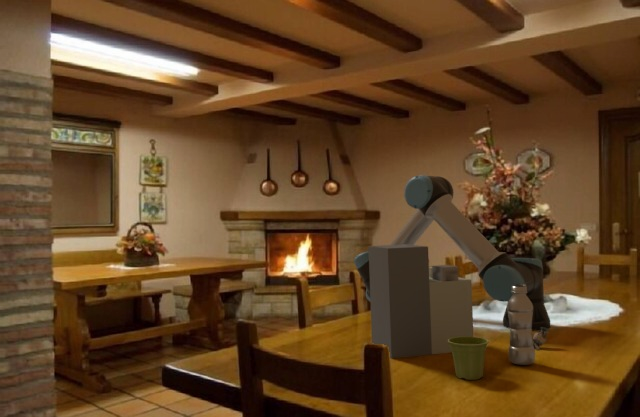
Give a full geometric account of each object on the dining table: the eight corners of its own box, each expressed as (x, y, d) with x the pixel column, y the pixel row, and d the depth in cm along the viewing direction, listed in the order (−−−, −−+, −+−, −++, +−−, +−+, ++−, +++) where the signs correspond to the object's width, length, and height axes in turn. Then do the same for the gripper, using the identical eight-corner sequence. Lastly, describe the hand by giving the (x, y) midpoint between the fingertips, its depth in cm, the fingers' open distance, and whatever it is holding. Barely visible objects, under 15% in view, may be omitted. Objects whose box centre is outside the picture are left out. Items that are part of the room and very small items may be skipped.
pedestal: (371, 345, 165) (368, 246, 165) (447, 338, 171) (444, 242, 172) (391, 358, 149) (387, 248, 150) (473, 350, 155) (470, 244, 156)
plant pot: (443, 372, 135) (442, 337, 135) (481, 370, 135) (479, 335, 136) (456, 383, 125) (455, 345, 125) (496, 381, 126) (494, 343, 126)
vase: (542, 344, 159) (542, 324, 159) (554, 350, 154) (555, 329, 154) (525, 346, 158) (526, 325, 158) (537, 351, 153) (538, 330, 153)
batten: (403, 272, 181) (402, 260, 181) (417, 271, 182) (416, 259, 182) (442, 281, 154) (441, 267, 154) (458, 280, 155) (457, 266, 155)
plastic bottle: (535, 361, 142) (532, 284, 142) (536, 368, 135) (533, 287, 136) (508, 360, 144) (505, 284, 144) (508, 367, 137) (505, 287, 138)
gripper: (420, 289, 204) (445, 267, 186) (357, 293, 197) (377, 270, 179) (415, 270, 208) (439, 247, 190) (353, 273, 200) (372, 249, 183)
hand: (409, 258), depth 184 cm, fingers open, 13 cm apart
